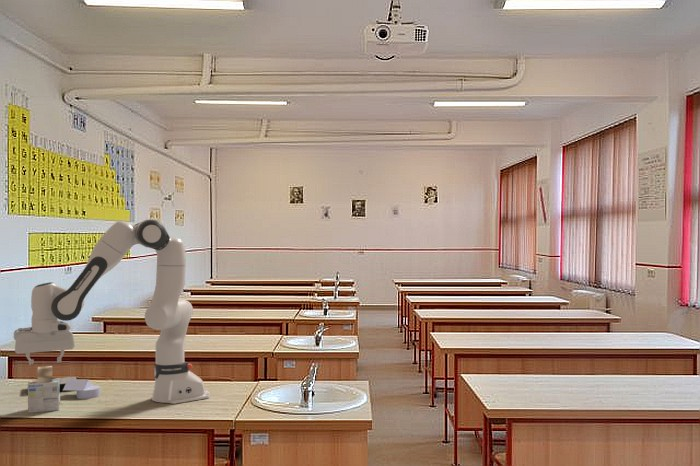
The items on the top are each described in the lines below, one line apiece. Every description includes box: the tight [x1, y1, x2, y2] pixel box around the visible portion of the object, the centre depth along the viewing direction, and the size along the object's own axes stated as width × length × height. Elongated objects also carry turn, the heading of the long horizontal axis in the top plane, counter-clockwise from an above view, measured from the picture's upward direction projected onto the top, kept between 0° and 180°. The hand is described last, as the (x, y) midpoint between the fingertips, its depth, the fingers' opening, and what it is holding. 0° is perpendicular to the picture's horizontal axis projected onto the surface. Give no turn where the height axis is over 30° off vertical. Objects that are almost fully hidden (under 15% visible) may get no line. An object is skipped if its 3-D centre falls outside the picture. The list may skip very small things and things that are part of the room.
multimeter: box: [26, 376, 78, 395], centre depth 280 cm, size 13×19×5 cm
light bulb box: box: [27, 377, 61, 414], centre depth 248 cm, size 11×7×11 cm, turn 111°
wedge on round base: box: [63, 378, 102, 400], centre depth 268 cm, size 9×7×13 cm
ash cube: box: [36, 365, 53, 383], centre depth 248 cm, size 5×5×5 cm
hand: (45, 363), depth 248 cm, fingers open, 8 cm apart
